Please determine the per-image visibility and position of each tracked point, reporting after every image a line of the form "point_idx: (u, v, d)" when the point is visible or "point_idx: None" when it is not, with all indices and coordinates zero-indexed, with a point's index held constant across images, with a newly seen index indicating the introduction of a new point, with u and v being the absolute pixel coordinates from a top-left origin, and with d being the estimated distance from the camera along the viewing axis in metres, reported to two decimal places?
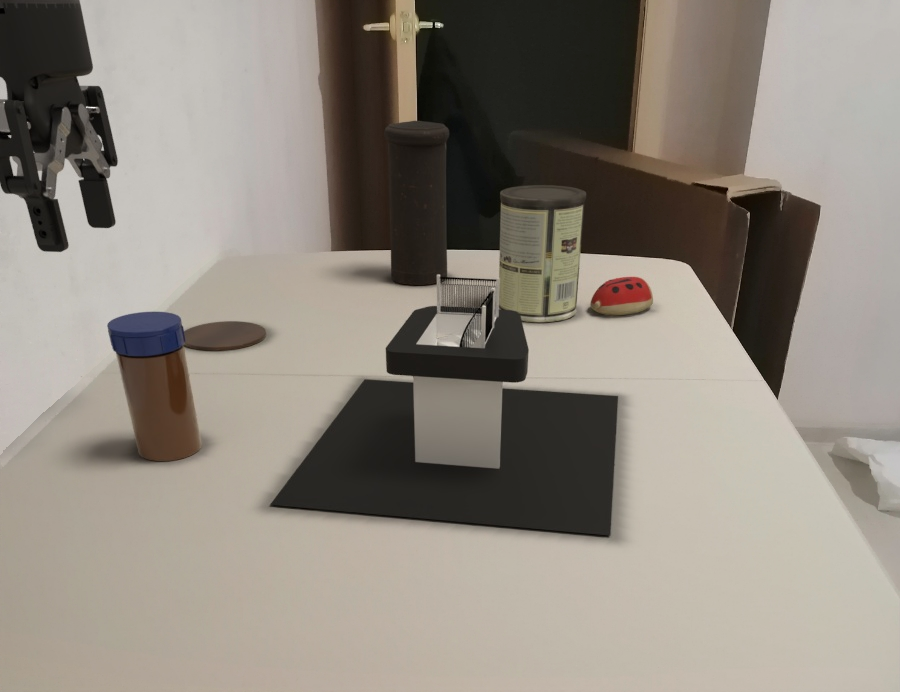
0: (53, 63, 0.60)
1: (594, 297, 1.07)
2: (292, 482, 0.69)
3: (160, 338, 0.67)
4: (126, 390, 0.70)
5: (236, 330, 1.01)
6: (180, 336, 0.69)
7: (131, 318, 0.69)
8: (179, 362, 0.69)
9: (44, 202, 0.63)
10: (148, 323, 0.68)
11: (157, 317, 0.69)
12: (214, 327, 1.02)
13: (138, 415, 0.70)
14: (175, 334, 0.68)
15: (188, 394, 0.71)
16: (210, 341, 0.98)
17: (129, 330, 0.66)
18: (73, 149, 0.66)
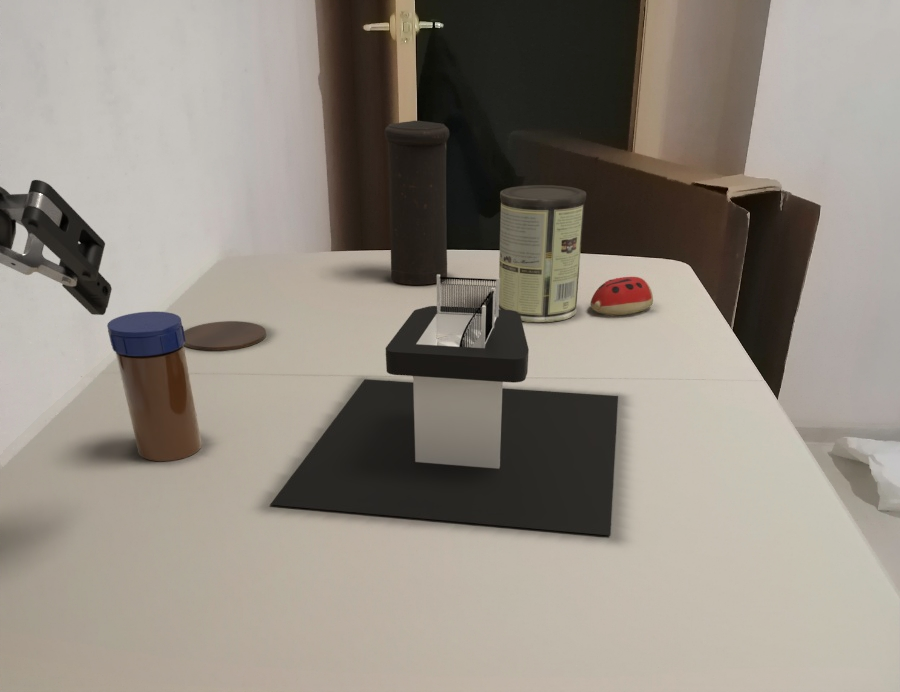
0: None
1: (594, 297, 1.07)
2: (292, 482, 0.69)
3: (160, 338, 0.67)
4: (126, 390, 0.70)
5: (236, 330, 1.01)
6: (180, 336, 0.69)
7: (131, 318, 0.69)
8: (179, 362, 0.69)
9: None
10: (148, 323, 0.68)
11: (157, 317, 0.69)
12: (214, 327, 1.02)
13: (138, 415, 0.70)
14: (175, 334, 0.68)
15: (188, 394, 0.71)
16: (210, 341, 0.98)
17: (129, 330, 0.66)
18: None
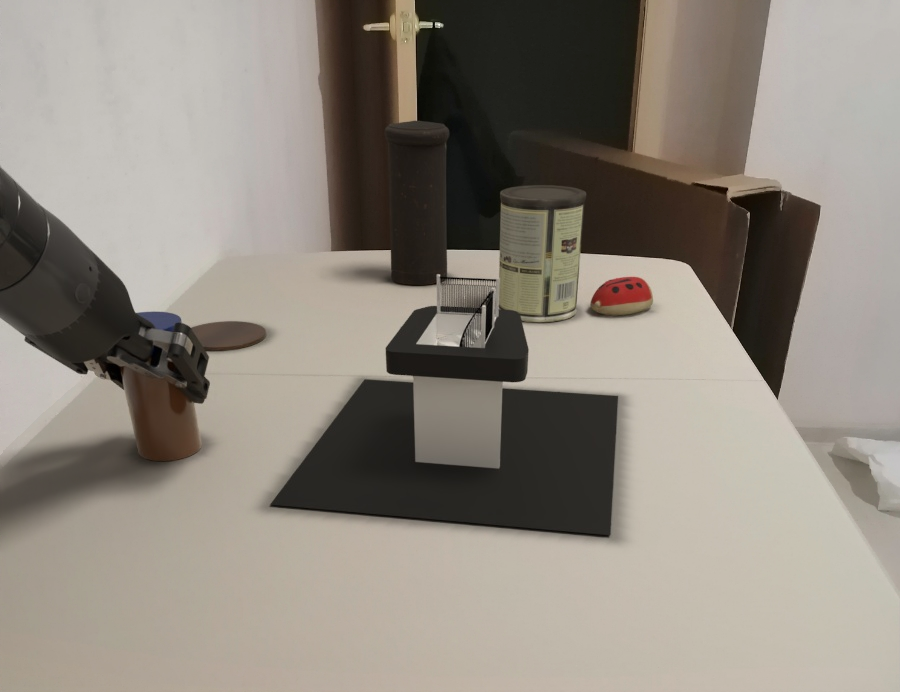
0: None
1: (594, 297, 1.07)
2: (292, 482, 0.69)
3: None
4: (126, 390, 0.70)
5: (236, 330, 1.01)
6: None
7: None
8: None
9: None
10: None
11: (157, 317, 0.69)
12: (214, 327, 1.02)
13: (138, 415, 0.70)
14: None
15: None
16: (210, 341, 0.98)
17: None
18: None
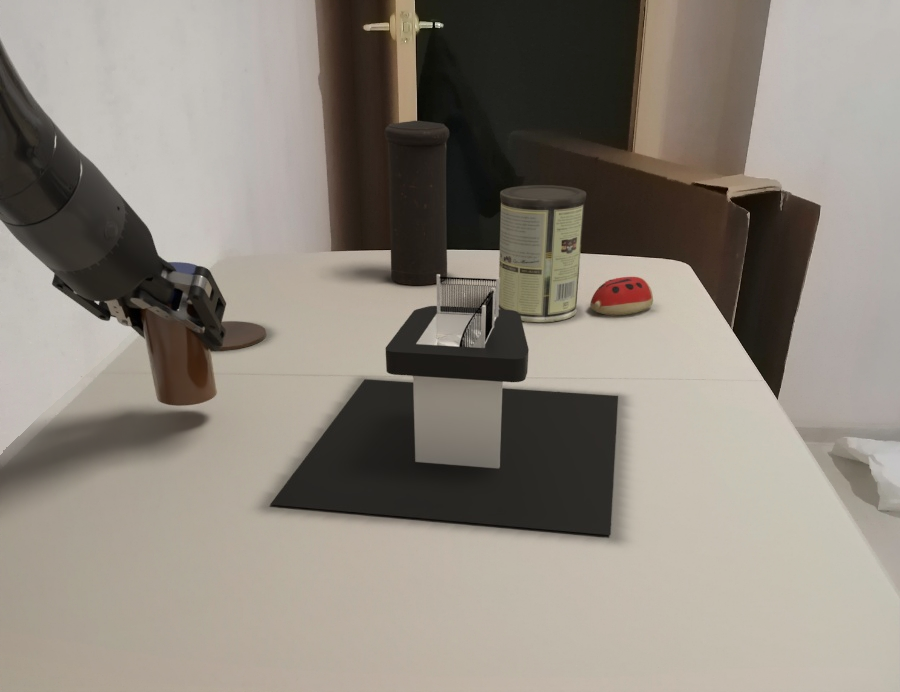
0: None
1: (594, 297, 1.07)
2: (292, 482, 0.69)
3: None
4: (146, 336, 0.73)
5: (236, 330, 1.01)
6: None
7: None
8: None
9: None
10: None
11: (177, 266, 0.73)
12: None
13: (157, 360, 0.74)
14: None
15: None
16: None
17: None
18: None
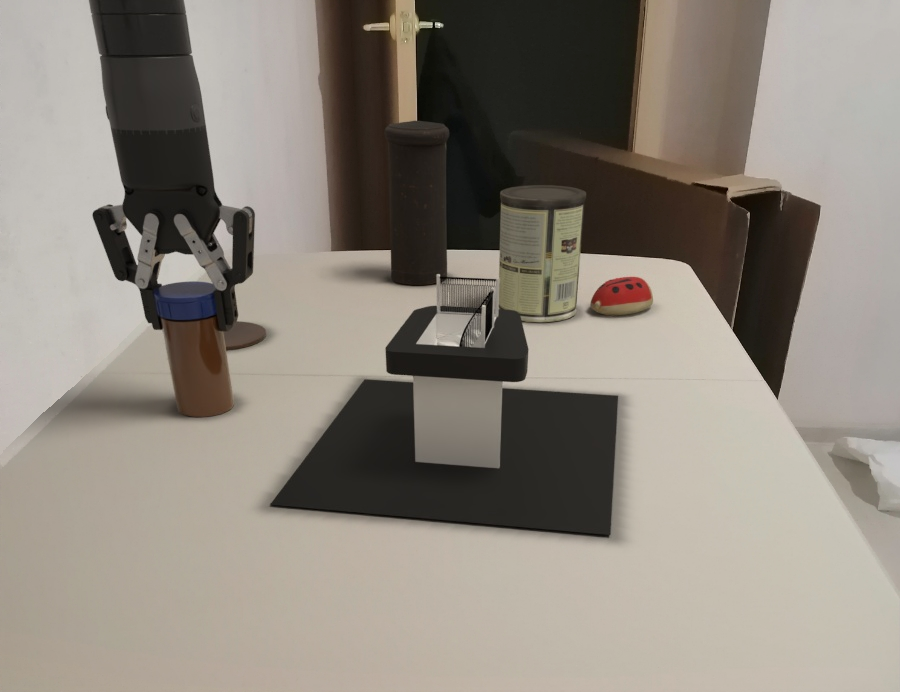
0: (123, 177, 0.69)
1: (594, 297, 1.07)
2: (292, 482, 0.69)
3: (201, 303, 0.75)
4: (169, 351, 0.78)
5: (236, 330, 1.01)
6: None
7: (174, 287, 0.77)
8: (216, 326, 0.77)
9: (141, 289, 0.76)
10: (190, 291, 0.76)
11: (197, 286, 0.77)
12: None
13: (179, 374, 0.78)
14: (214, 300, 0.76)
15: (224, 356, 0.79)
16: None
17: (173, 296, 0.74)
18: (178, 249, 0.73)
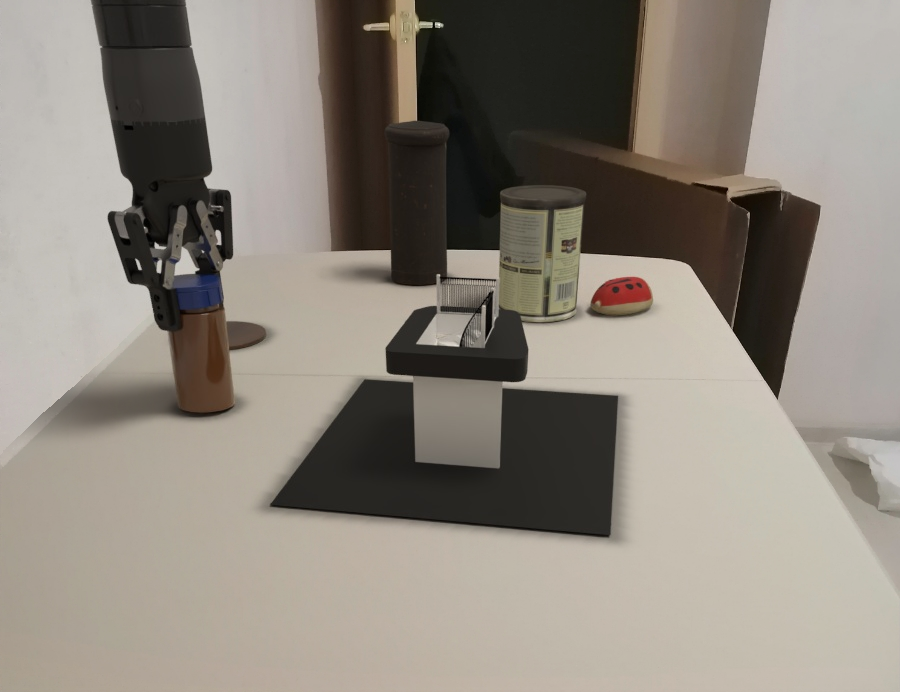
0: (170, 170, 0.68)
1: (594, 297, 1.07)
2: (292, 482, 0.69)
3: None
4: (172, 346, 0.78)
5: (236, 330, 1.01)
6: None
7: (194, 283, 0.76)
8: (221, 321, 0.78)
9: (162, 291, 0.73)
10: (186, 278, 0.77)
11: None
12: None
13: (181, 369, 0.78)
14: None
15: (227, 352, 0.80)
16: None
17: (206, 275, 0.78)
18: (190, 239, 0.75)
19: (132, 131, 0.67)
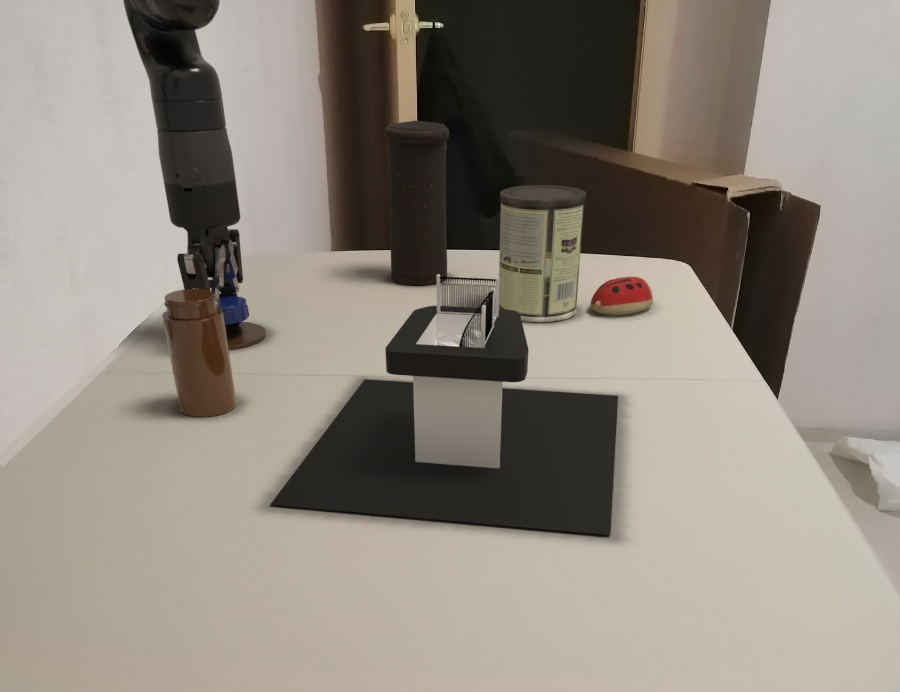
0: (219, 219, 0.90)
1: (594, 297, 1.07)
2: (292, 482, 0.69)
3: None
4: (172, 352, 0.78)
5: (236, 330, 1.01)
6: None
7: (230, 304, 0.97)
8: (220, 325, 0.77)
9: None
10: None
11: None
12: None
13: (183, 375, 0.78)
14: None
15: (227, 355, 0.79)
16: None
17: (230, 297, 1.00)
18: (223, 269, 0.96)
19: (191, 192, 0.88)
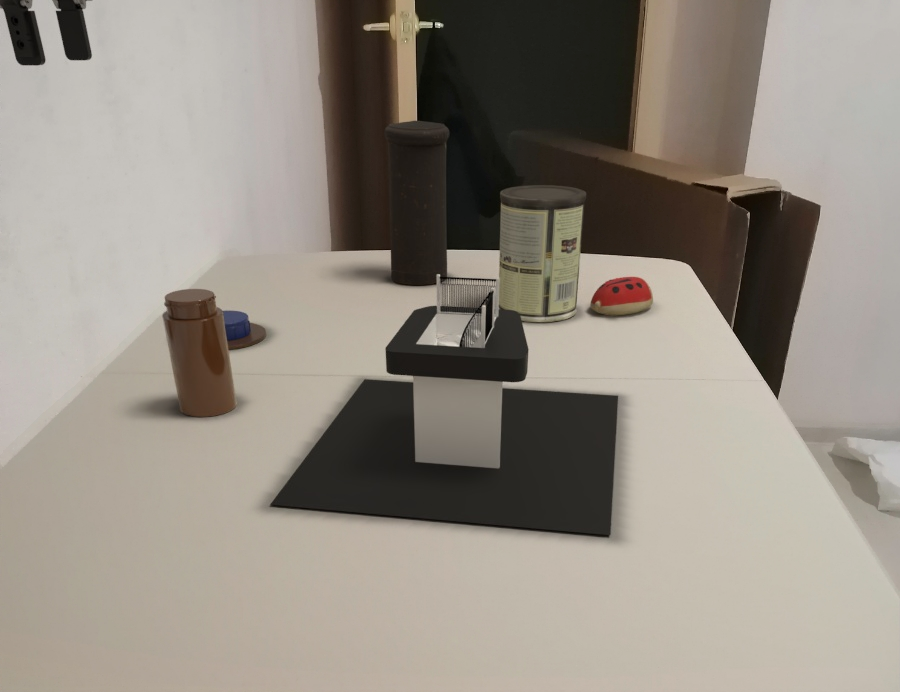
0: None
1: (594, 297, 1.07)
2: (292, 482, 0.69)
3: None
4: (172, 352, 0.78)
5: None
6: None
7: (232, 319, 0.98)
8: (220, 325, 0.77)
9: (21, 11, 0.67)
10: None
11: None
12: None
13: (183, 375, 0.78)
14: None
15: (227, 355, 0.79)
16: None
17: (232, 311, 1.01)
18: None
19: None
